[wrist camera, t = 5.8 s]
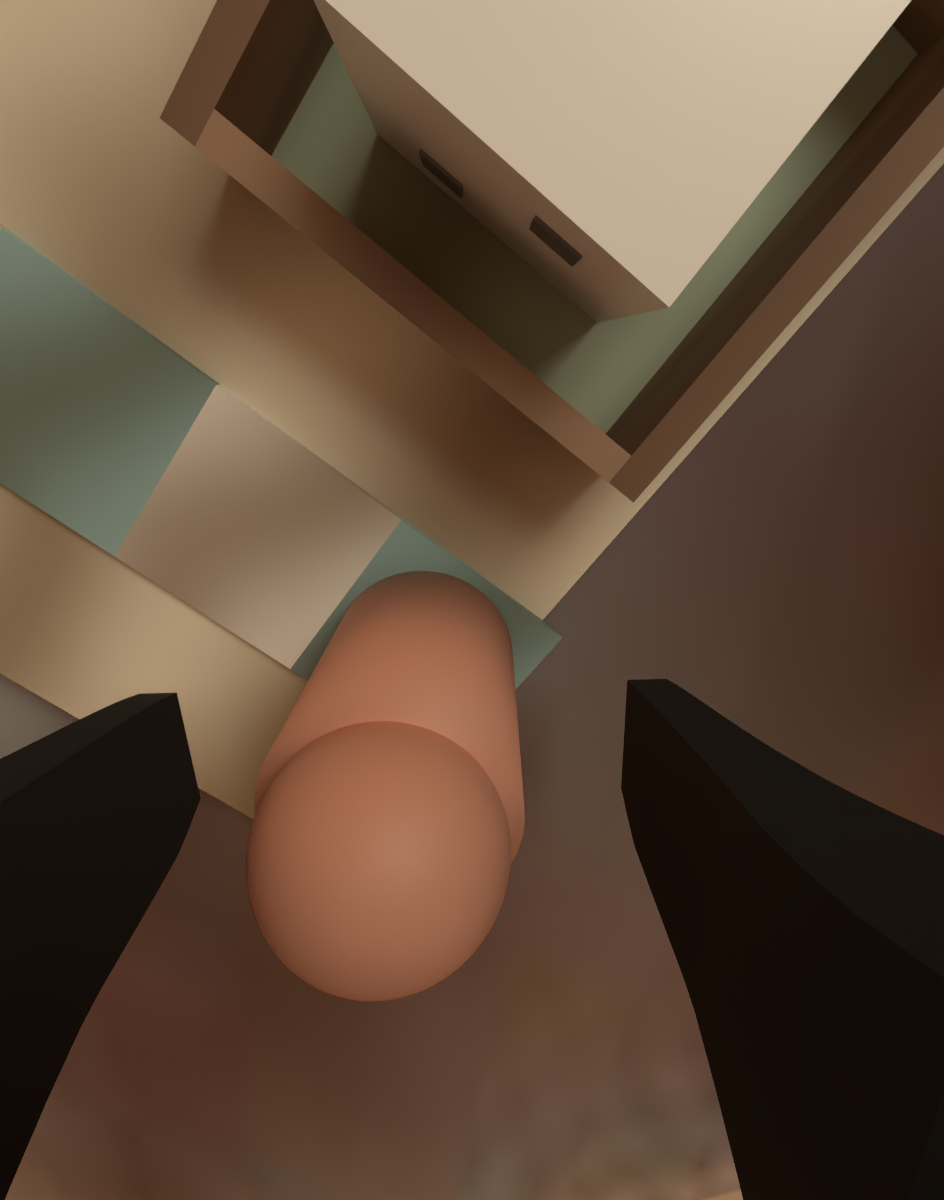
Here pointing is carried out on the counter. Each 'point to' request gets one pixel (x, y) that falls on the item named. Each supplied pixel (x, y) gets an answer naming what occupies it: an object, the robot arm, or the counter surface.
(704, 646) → the counter surface
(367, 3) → the die
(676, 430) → the board
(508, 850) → the pawn
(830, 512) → the counter surface
